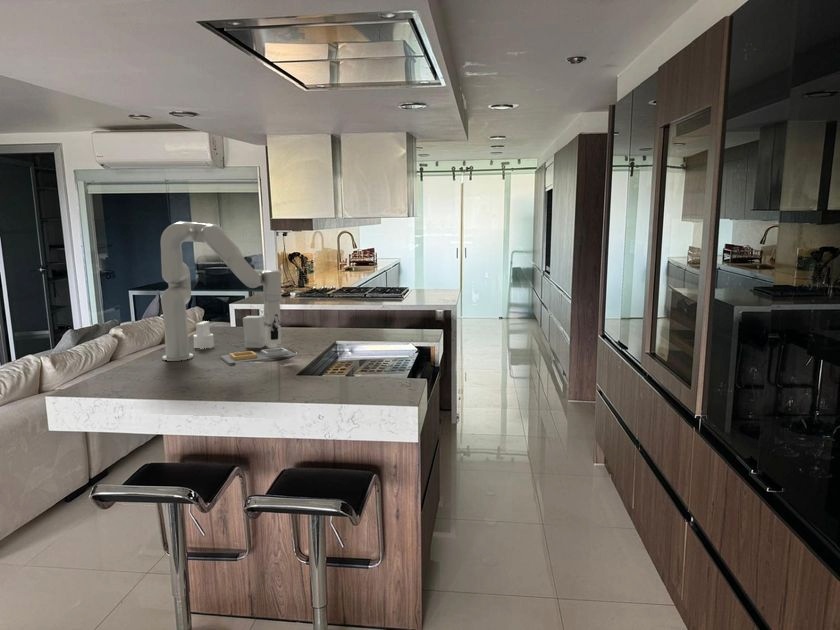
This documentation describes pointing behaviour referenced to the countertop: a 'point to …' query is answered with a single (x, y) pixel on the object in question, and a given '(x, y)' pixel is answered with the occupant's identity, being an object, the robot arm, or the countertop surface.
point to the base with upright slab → (203, 336)
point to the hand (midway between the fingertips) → (272, 338)
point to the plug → (268, 335)
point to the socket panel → (256, 355)
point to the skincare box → (254, 331)
